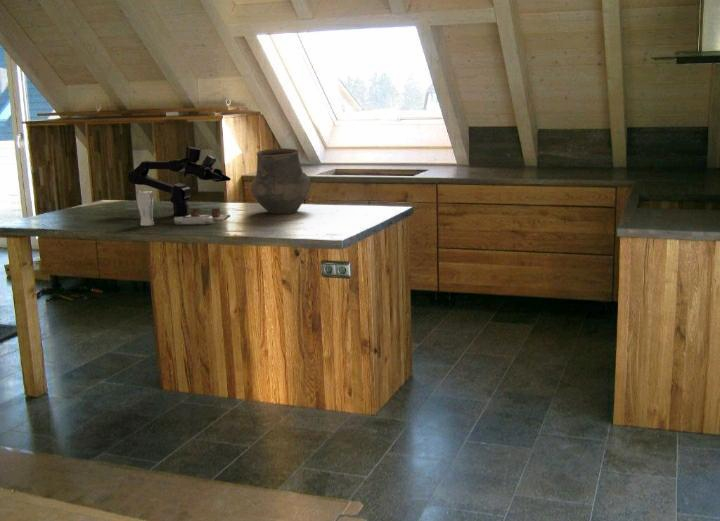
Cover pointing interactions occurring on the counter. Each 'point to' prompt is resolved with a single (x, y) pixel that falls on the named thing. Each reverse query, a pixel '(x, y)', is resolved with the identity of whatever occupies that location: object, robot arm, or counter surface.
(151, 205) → the beer glass
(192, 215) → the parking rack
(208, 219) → the grey rod with balls
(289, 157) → the ceramic pot
